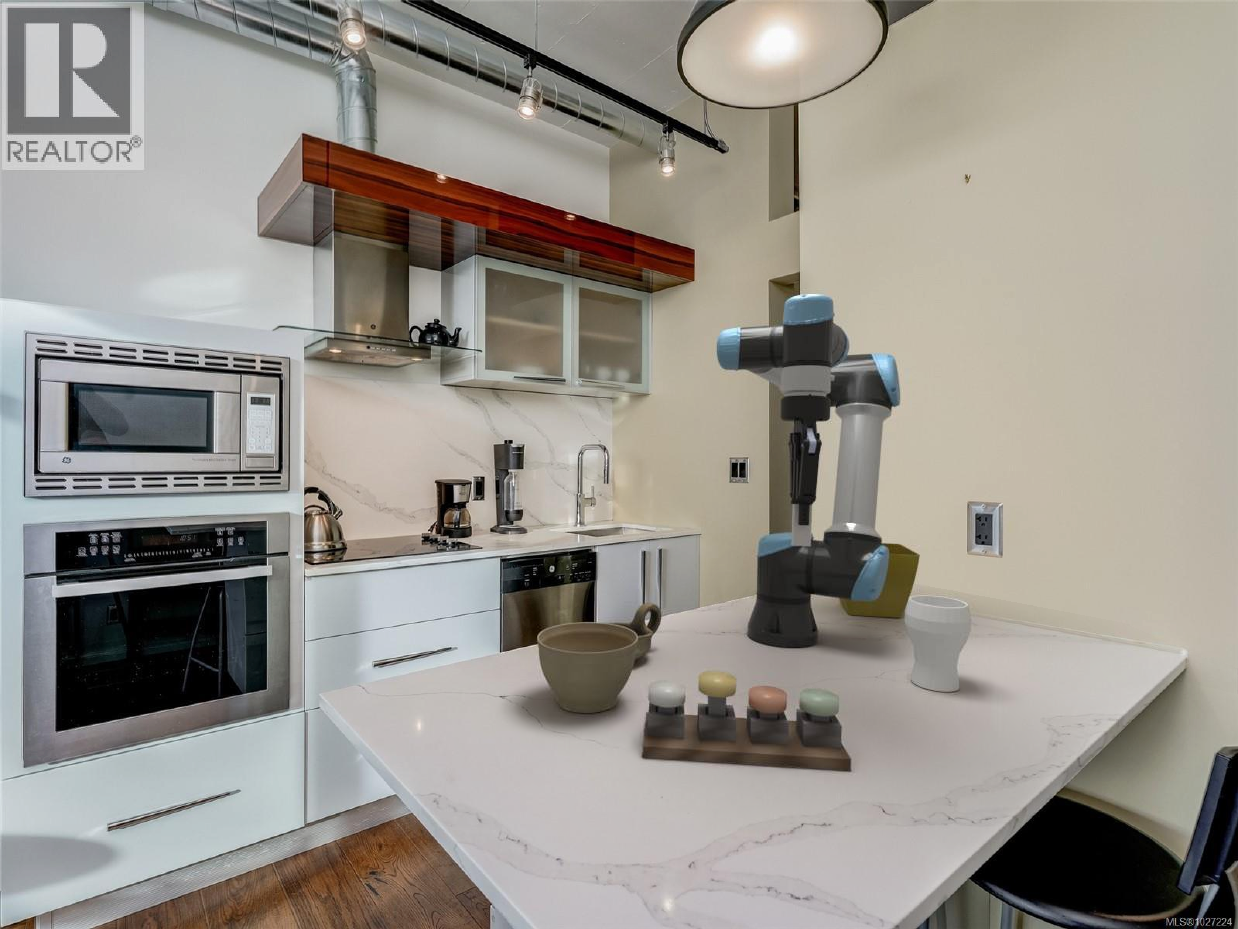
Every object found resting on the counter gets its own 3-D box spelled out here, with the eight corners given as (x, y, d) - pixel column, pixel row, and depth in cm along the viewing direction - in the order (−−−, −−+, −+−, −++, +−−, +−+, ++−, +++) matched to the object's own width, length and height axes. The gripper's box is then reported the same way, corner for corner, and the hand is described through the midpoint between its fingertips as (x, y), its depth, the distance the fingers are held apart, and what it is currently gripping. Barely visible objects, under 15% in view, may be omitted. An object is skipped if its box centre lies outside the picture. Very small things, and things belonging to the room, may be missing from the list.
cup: (977, 698, 108) (980, 610, 108) (910, 692, 110) (913, 606, 110) (957, 676, 119) (960, 596, 118) (896, 671, 121) (899, 592, 120)
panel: (642, 757, 85) (643, 724, 85) (646, 722, 96) (646, 692, 96) (850, 770, 83) (851, 736, 82) (829, 733, 94) (830, 702, 93)
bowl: (567, 655, 126) (569, 605, 125) (638, 641, 136) (639, 595, 136) (607, 676, 115) (608, 621, 114) (681, 659, 125) (682, 609, 124)
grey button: (646, 731, 88) (647, 693, 87) (648, 715, 93) (649, 679, 93) (684, 733, 87) (685, 695, 87) (684, 717, 92) (685, 681, 92)
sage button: (802, 740, 86) (803, 702, 86) (795, 724, 91) (796, 687, 91) (842, 743, 85) (843, 704, 85) (832, 726, 91) (833, 689, 91)
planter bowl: (543, 682, 111) (545, 620, 111) (636, 685, 111) (638, 623, 110) (527, 722, 95) (529, 649, 95) (636, 726, 95) (637, 653, 94)
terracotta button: (750, 737, 86) (751, 699, 86) (745, 721, 92) (746, 684, 92) (789, 740, 86) (790, 701, 86) (782, 723, 91) (783, 686, 91)
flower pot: (837, 618, 159) (839, 551, 158) (825, 600, 178) (827, 540, 177) (918, 623, 156) (921, 555, 155) (897, 604, 174) (900, 543, 174)
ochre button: (698, 721, 87) (699, 683, 87) (697, 706, 92) (698, 670, 92) (737, 724, 87) (738, 685, 86) (733, 708, 92) (734, 672, 92)
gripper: (841, 392, 93) (835, 552, 94) (820, 399, 106) (816, 540, 107) (788, 391, 94) (784, 551, 95) (774, 398, 107) (770, 538, 108)
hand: (801, 545), depth 101 cm, fingers closed
